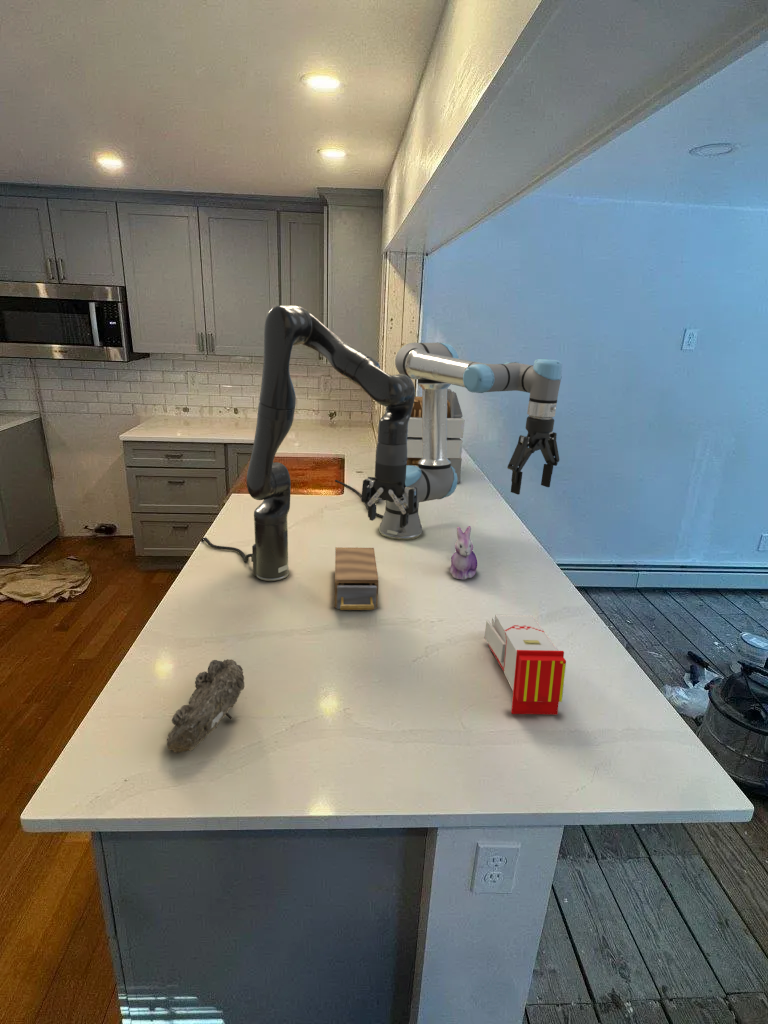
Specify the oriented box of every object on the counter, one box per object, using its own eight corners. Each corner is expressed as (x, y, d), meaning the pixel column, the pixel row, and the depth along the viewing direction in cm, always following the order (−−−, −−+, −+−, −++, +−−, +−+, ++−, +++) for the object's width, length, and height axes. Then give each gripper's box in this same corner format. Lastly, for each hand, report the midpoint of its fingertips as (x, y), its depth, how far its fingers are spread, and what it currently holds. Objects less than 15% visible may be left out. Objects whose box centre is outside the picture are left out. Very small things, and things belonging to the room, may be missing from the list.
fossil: (192, 660, 117) (244, 628, 112) (224, 691, 120) (276, 661, 115) (142, 746, 98) (202, 712, 93) (182, 779, 101) (242, 748, 96)
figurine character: (382, 507, 229) (381, 492, 243) (383, 490, 226) (382, 475, 239) (365, 506, 229) (366, 491, 242) (366, 489, 226) (366, 475, 239)
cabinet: (377, 607, 150) (378, 579, 147) (334, 607, 149) (335, 579, 146) (372, 573, 170) (373, 547, 167) (335, 572, 169) (335, 547, 166)
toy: (530, 600, 137) (574, 657, 108) (525, 651, 140) (567, 720, 111) (480, 599, 137) (511, 656, 107) (477, 651, 139) (506, 719, 110)
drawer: (376, 619, 142) (377, 597, 140) (336, 619, 142) (337, 597, 140) (371, 575, 166) (372, 555, 164) (337, 575, 165) (337, 555, 163)
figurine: (459, 583, 165) (464, 535, 160) (440, 569, 174) (444, 523, 169) (486, 577, 169) (491, 531, 164) (466, 564, 178) (470, 519, 173)
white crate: (382, 463, 289) (386, 382, 275) (445, 464, 293) (451, 384, 279) (390, 482, 257) (394, 392, 243) (460, 483, 261) (468, 394, 247)
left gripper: (357, 458, 135) (355, 521, 141) (411, 468, 129) (406, 534, 135) (372, 452, 142) (370, 513, 147) (424, 461, 136) (419, 524, 141)
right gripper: (522, 423, 148) (511, 500, 155) (579, 416, 162) (567, 486, 170) (500, 418, 153) (491, 492, 161) (557, 411, 168) (546, 480, 175)
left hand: (387, 523), depth 141 cm, fingers open, 8 cm apart
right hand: (530, 489), depth 165 cm, fingers open, 13 cm apart
